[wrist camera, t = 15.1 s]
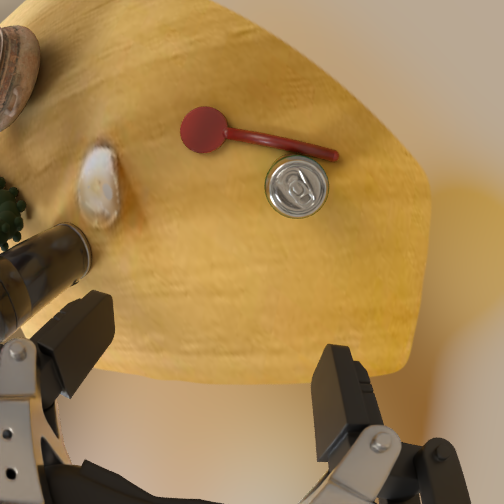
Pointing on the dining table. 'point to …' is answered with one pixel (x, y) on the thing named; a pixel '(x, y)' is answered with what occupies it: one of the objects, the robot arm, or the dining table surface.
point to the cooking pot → (16, 71)
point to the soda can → (296, 186)
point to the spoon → (238, 136)
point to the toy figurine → (10, 215)
